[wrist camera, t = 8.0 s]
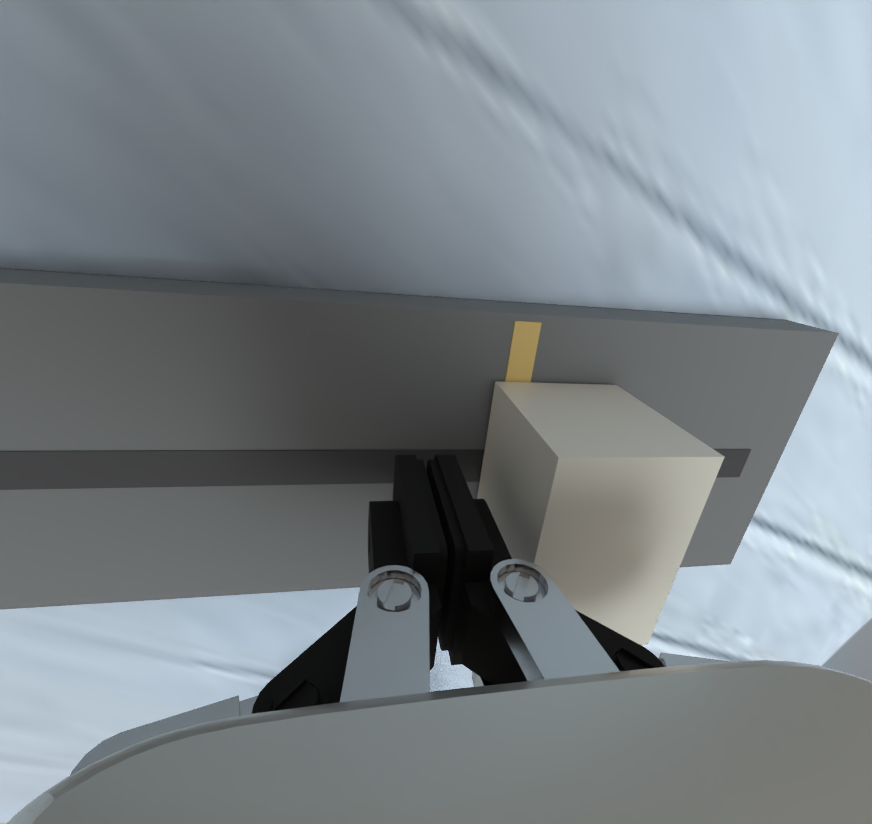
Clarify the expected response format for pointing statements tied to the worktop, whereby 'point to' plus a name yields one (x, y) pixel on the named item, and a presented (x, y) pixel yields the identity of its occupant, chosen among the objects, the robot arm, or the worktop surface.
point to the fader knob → (595, 495)
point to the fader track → (319, 421)
